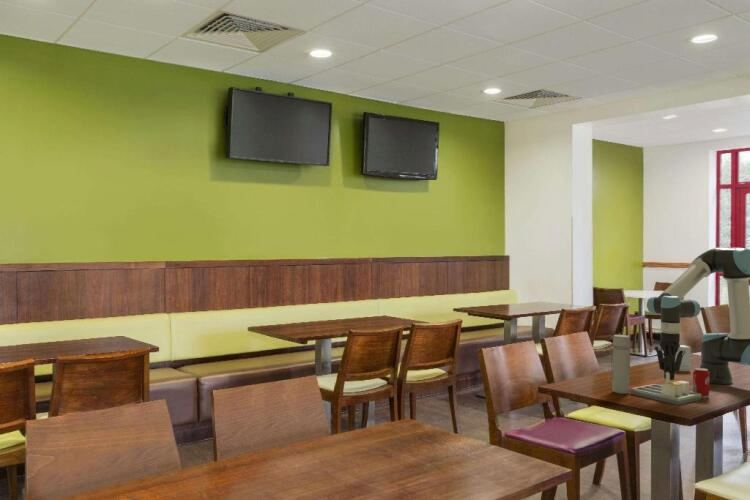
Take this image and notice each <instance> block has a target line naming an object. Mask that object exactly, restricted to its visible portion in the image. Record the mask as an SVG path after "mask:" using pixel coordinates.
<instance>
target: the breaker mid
mask: <svg viewBox="0 0 750 500" xmlns="http://www.w3.org/2000/svg"><path fill="white" fill-rule="evenodd" d="M676 382H677V381H673V382H671V383H668V384H672V385H676V386H675V394H676V395H681V396H682V384H681V383H676Z"/></svg>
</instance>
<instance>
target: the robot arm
mask: <svg viewBox="0 0 750 500" xmlns="http://www.w3.org/2000/svg"><path fill="white" fill-rule="evenodd" d="M714 273H719V274H720V273H721V274H722V279H724V280H725V281H726V285H727V296H728V312H729V325H730V332H728V333H727V332H713V333H712V332H710V333H709V332H708V333H704V334H702V336H701V352H700V353H701V362H700V367H699V368H705V369H708V372H709V384H715V385H730V384H732V383H733V376H732V372H731V369H730V366H729V365H730V364H729V363H734V364H739V365H743V366H750V286H749V283H750V282H749V281H750V249H749V248H744V247H714V248H710V249H708V250H706V251H704V252H702V253H701V254H700V255H698V256H697V257H696V258H694V259H693V260H692V261H691V263H690V266H689V267H688V268H687V269H686V270H685V271H684V272H683V273H682V274H681V275H680V276H679V277H677V278H676V279H675V281H673V282H672V283H671V284H670V285H669V286H668V287H667V288H666V289H664V291H663V292H662V293H660V294H659V296H651V297H649V298H648V299H647V302H646V308H647V310H648V312H649V313H650V314H655V315H660V331H661V332H660V338H659V339H660V343H659V345H657V346H655V347H654V350H655V352H656V354H657V355H656V356H657V361H658V366H659V370H660V371H661V370H662V371H663V372H664V373H663V378H664V380H665V384H666V383H667V384H668V383H671V382H674V380H675V373H678V372H680V371H679V369H680V365H681V362H682V358H683V355H684V354H685V350H682V349H681V348H680V345H681V344H680V340H681V339H680V337H681V335H680V332H681V319H682V318H683V319H684V318H691V319H692V318H695V317H697V316H699V315H700V312H701V305H700V303H699V302H698V301H696V300H694V299H683V298H684V297H685V296H686V295H687V294H688V293H689V292H690V291H691V290H692V289H694V288H695V286H696V285H698V284H699V283H700V282H701V281H702V279H704V278H708V277H710V275H711V274H714ZM677 351H678V355H677V358H676V362H675V357H676V353H677Z"/></svg>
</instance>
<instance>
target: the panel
mask: <svg viewBox="0 0 750 500" xmlns="http://www.w3.org/2000/svg"><path fill="white" fill-rule="evenodd" d="M633 394H634V395H633ZM630 395H633V396H638V397H643V398H648V399H650V400H656V401H661V402H664V403H669V404H673V405H678V406H680V405H684V404H689V403H692V402H696V401H701V400H702V398H701V394H700V393H695V392H693V391H690V392H689V394H686V393H682V396H681V395H676V394H675V397H671V396H666V395H662V394H661V384H656V383H651V384H646V385H641V386H636V387H631V388H630Z"/></svg>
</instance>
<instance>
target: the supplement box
mask: <svg viewBox="0 0 750 500" xmlns="http://www.w3.org/2000/svg"><path fill="white" fill-rule="evenodd" d="M679 345H680V348H681V349H682V350H685V354H684V355H683V358H682V362H681V365H680V369H679V371H678V372H691V370H692V369H691V365H692V364H691V363H692V361H691V358H692V357H691V356H692V351H691V350H692V349H691V348H692V347H691V346H687V345H684V344H679ZM677 355H678V351H677V353H676V357H675V362H676V358H677Z"/></svg>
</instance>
